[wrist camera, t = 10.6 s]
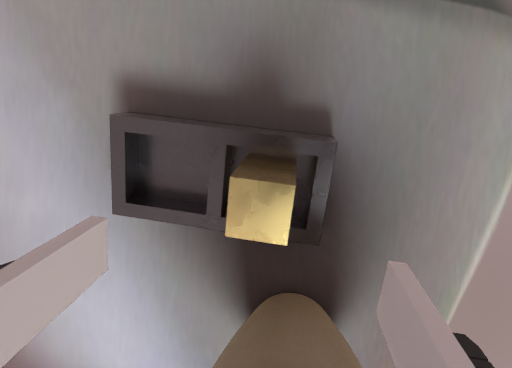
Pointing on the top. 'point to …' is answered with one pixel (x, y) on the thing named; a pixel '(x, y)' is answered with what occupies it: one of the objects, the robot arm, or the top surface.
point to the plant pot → (288, 338)
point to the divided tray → (209, 170)
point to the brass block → (261, 199)
